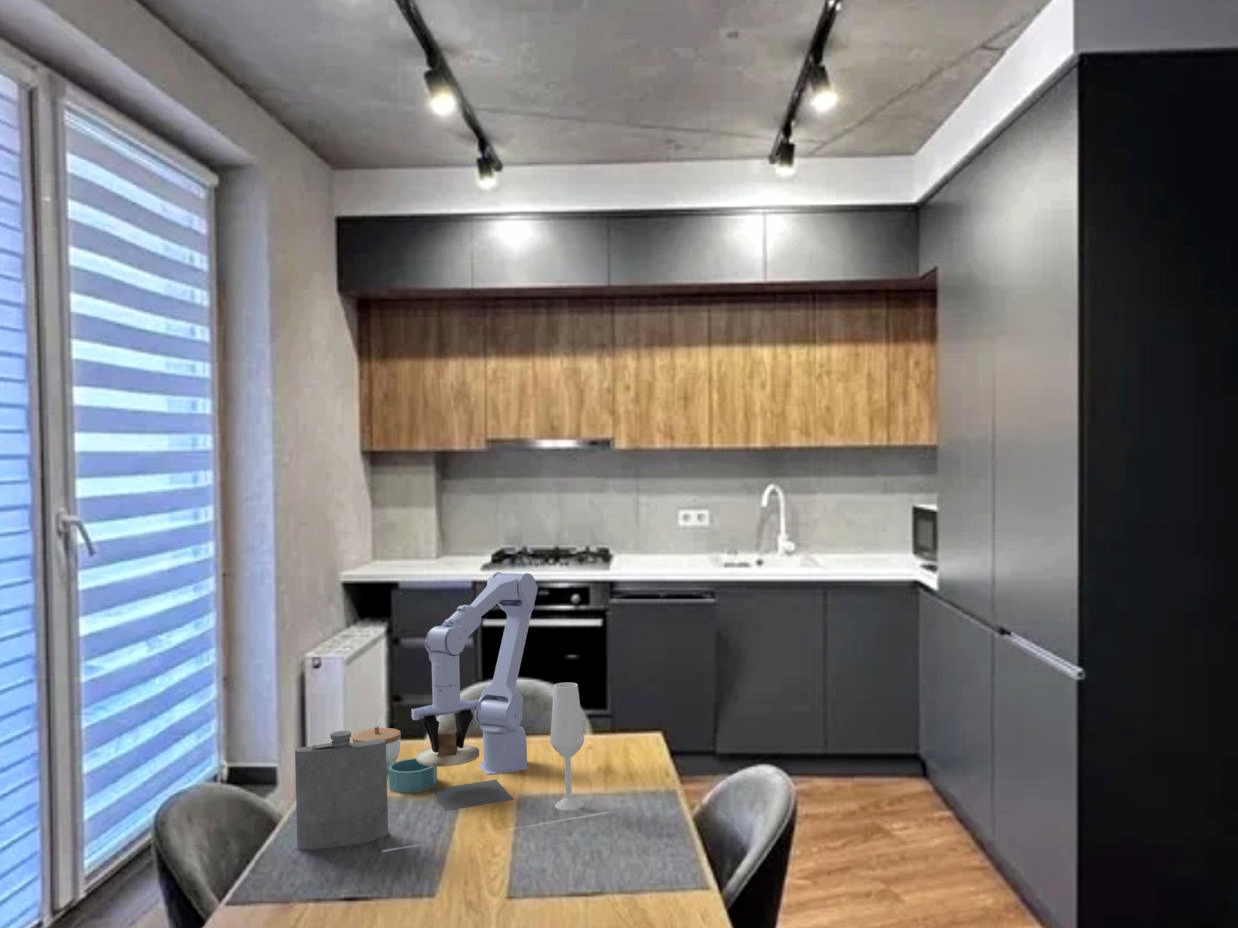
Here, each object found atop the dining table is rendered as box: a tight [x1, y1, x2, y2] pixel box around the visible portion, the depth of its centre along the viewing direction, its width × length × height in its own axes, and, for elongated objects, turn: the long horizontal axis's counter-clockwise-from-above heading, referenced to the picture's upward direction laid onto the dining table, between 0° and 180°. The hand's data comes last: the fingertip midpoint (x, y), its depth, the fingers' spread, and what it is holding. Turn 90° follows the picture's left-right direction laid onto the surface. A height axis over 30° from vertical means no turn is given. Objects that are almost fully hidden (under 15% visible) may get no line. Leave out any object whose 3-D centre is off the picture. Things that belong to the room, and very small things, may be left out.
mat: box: [430, 779, 515, 812], centre depth 195 cm, size 14×14×1 cm
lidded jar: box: [352, 725, 402, 771], centre depth 216 cm, size 11×11×9 cm
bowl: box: [387, 757, 438, 794], centre depth 203 cm, size 10×10×4 cm
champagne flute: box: [549, 682, 585, 811], centre depth 187 cm, size 7×7×24 cm
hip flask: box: [294, 730, 389, 851], centre depth 172 cm, size 16×4×20 cm, turn 107°
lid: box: [415, 728, 480, 767], centre depth 198 cm, size 13×13×5 cm
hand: (447, 749), depth 198 cm, fingers closed on lid, 5 cm apart
